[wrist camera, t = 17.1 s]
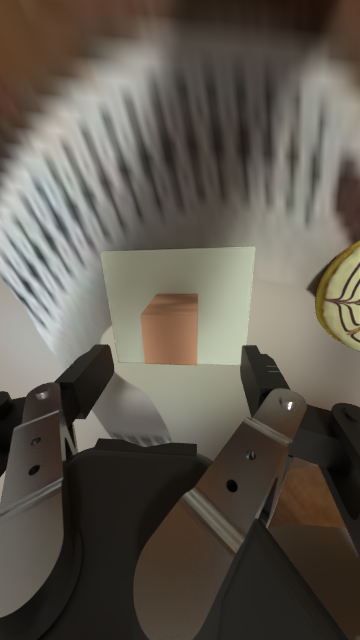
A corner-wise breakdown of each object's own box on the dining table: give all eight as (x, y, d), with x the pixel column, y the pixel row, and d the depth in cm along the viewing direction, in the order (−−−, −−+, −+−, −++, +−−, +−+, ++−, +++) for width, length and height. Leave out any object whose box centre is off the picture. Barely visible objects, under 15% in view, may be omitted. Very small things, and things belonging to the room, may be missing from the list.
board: (252, 246, 18) (255, 246, 17) (242, 359, 23) (244, 365, 22) (104, 251, 20) (99, 251, 19) (121, 357, 24) (118, 362, 23)
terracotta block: (197, 293, 19) (197, 315, 14) (197, 331, 21) (197, 365, 15) (156, 293, 20) (140, 315, 14) (159, 330, 21) (145, 363, 16)
